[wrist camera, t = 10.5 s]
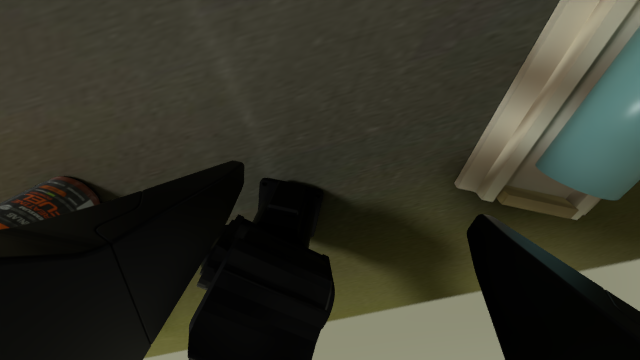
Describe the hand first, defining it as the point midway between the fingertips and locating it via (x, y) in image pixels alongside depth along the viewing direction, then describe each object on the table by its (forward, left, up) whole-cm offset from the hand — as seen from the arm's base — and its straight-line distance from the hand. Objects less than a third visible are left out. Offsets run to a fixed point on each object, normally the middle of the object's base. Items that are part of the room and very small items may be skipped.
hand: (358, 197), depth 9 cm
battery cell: (+4, -17, -12) cm, 21 cm away
